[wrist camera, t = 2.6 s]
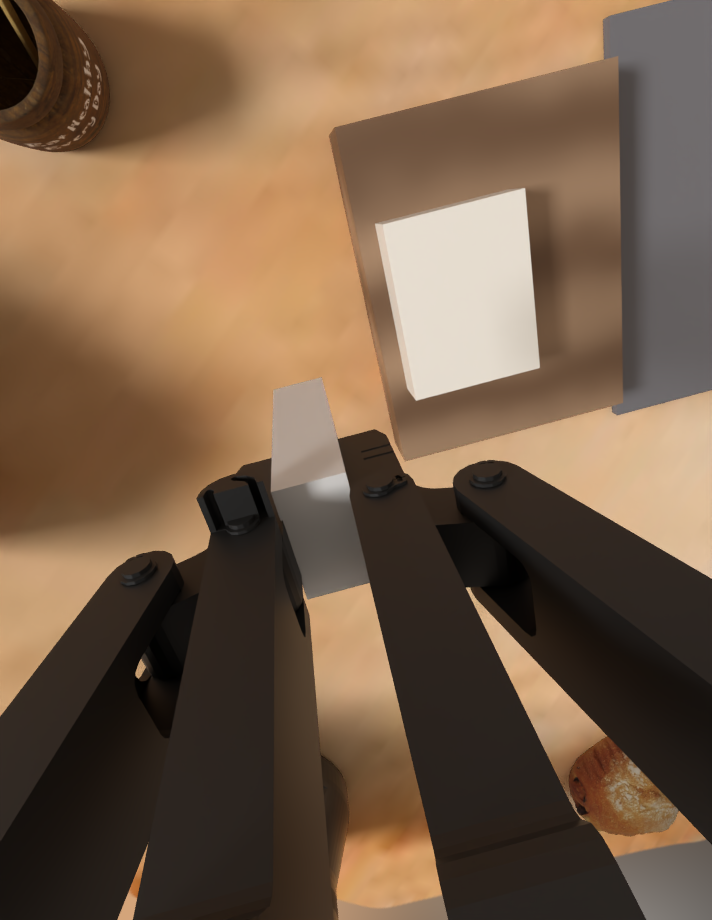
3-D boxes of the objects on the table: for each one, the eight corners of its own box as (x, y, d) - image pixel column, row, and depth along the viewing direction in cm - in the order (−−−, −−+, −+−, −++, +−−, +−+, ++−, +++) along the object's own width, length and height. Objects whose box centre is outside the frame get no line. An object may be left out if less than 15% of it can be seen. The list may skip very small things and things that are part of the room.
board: (597, 388, 37) (623, 403, 34) (395, 442, 36) (405, 461, 34) (586, 70, 29) (618, 55, 26) (328, 135, 28) (334, 127, 26)
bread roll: (636, 745, 59) (714, 795, 52) (580, 825, 56) (655, 889, 49) (606, 693, 55) (686, 740, 48) (543, 776, 52) (619, 839, 45)
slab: (523, 358, 32) (540, 367, 30) (407, 388, 32) (416, 400, 30) (507, 189, 28) (525, 188, 26) (374, 223, 28) (382, 224, 26)
